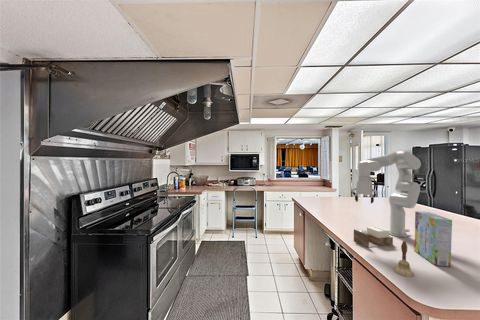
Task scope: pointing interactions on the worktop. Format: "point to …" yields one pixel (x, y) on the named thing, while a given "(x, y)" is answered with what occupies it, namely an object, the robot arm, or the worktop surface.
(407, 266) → the hand bell
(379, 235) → the carton
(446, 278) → the worktop surface
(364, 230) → the white flat piece
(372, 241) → the podium
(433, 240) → the snack box
